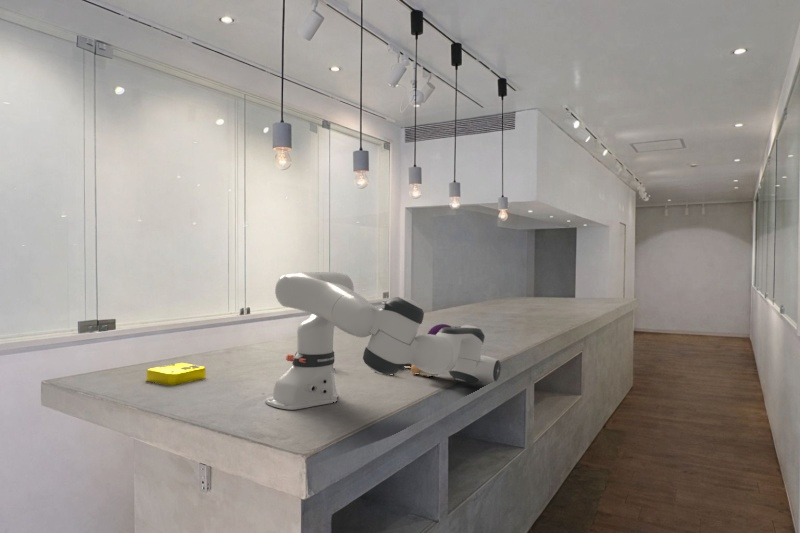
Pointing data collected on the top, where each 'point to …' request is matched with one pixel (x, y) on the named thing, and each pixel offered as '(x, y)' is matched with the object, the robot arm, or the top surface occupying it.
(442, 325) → the toy ball
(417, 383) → the top surface
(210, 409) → the top surface
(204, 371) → the element tile
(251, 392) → the top surface
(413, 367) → the ball
